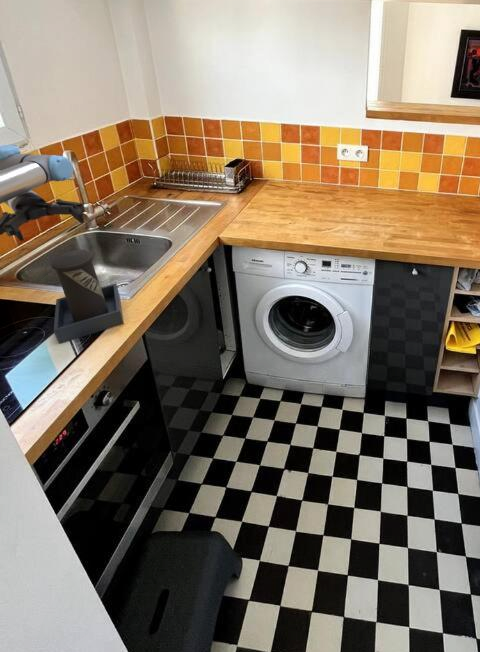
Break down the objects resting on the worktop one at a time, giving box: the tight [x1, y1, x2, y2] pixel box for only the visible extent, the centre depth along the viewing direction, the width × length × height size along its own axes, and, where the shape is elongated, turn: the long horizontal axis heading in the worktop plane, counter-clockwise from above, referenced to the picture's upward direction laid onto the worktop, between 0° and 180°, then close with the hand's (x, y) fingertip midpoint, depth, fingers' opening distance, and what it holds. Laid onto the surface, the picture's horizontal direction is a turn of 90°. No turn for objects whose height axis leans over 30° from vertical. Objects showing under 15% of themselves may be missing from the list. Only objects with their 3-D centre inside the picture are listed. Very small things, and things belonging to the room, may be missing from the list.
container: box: [50, 249, 108, 323], centre depth 104 cm, size 9×9×20 cm
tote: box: [53, 283, 125, 345], centre depth 108 cm, size 15×15×4 cm
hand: (52, 226), depth 103 cm, fingers open, 13 cm apart
